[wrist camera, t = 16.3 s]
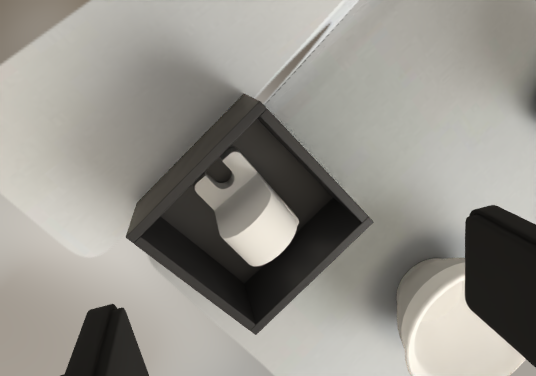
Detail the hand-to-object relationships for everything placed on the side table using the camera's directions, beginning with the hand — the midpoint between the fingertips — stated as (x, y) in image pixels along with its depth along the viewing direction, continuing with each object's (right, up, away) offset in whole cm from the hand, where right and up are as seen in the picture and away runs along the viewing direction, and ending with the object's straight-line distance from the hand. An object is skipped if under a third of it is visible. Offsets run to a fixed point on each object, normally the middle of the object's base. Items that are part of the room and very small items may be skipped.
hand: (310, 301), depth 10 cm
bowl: (+18, -9, +38) cm, 43 cm away
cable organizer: (-3, +2, +28) cm, 29 cm away
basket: (-4, +2, +29) cm, 29 cm away
